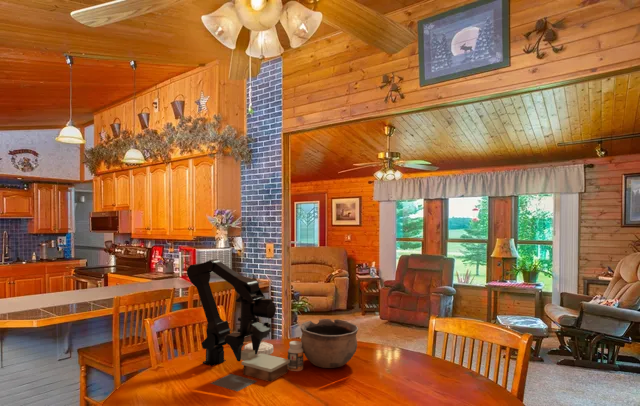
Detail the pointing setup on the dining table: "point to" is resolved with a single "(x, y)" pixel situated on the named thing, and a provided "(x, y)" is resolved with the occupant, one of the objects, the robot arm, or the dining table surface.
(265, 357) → the lid
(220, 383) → the mat
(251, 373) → the tub
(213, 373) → the dining table surface
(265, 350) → the mooncake
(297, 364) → the pill bottle
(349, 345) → the ceramic bowl
